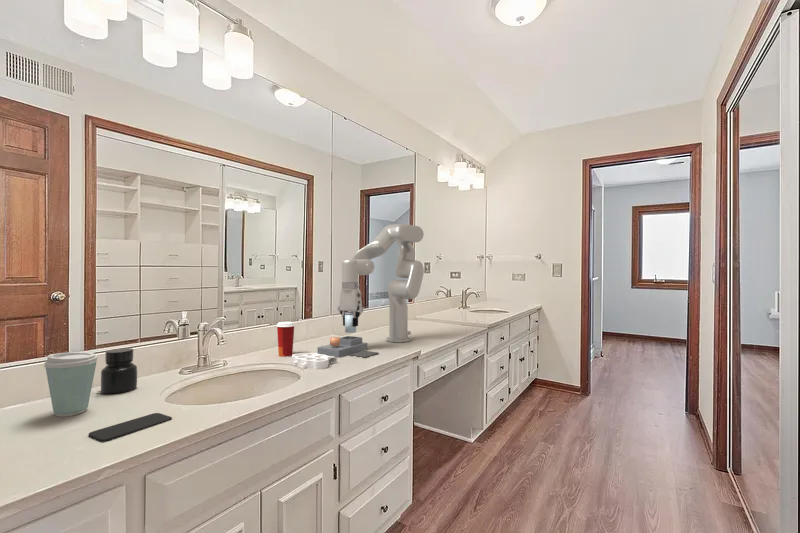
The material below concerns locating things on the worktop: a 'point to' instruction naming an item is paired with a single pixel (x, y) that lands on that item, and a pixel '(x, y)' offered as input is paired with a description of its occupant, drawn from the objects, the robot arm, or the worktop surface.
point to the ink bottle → (118, 372)
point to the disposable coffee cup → (70, 381)
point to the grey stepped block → (344, 347)
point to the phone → (128, 427)
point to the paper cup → (285, 338)
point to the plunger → (335, 341)
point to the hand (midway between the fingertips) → (350, 325)
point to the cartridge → (349, 322)
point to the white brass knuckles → (312, 360)
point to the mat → (364, 354)
